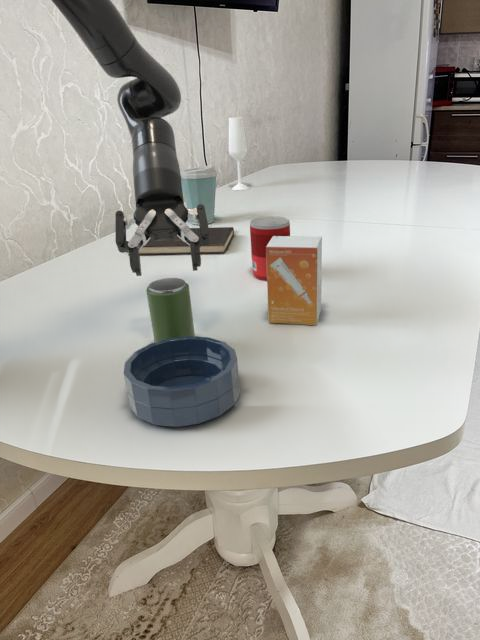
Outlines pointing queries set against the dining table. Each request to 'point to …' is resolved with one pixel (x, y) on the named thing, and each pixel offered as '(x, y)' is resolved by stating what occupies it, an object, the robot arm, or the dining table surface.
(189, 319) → the slim can
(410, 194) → the dining table surface
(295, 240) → the small box
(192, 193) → the disposable coffee cup
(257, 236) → the canned food
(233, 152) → the champagne flute
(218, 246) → the hardcover book
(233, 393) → the bowl
